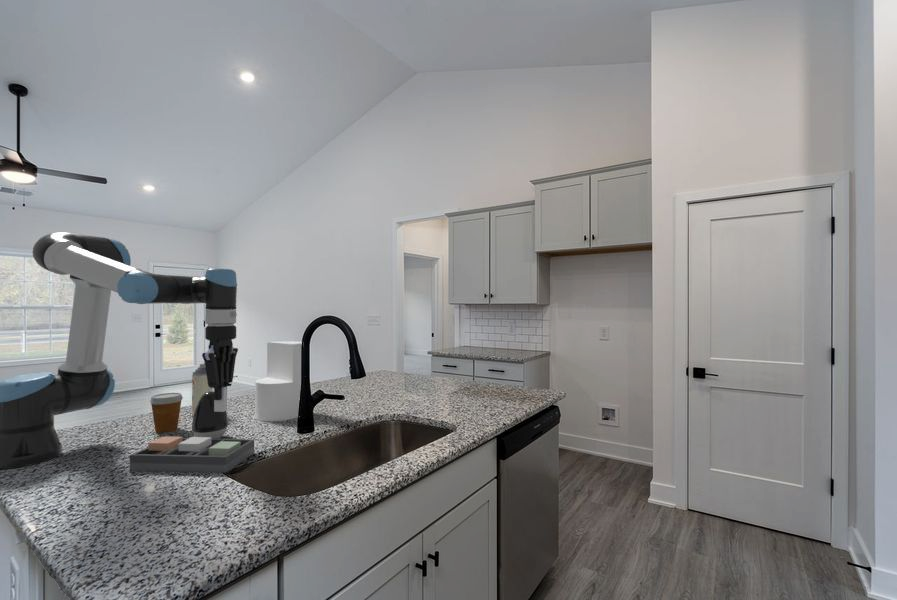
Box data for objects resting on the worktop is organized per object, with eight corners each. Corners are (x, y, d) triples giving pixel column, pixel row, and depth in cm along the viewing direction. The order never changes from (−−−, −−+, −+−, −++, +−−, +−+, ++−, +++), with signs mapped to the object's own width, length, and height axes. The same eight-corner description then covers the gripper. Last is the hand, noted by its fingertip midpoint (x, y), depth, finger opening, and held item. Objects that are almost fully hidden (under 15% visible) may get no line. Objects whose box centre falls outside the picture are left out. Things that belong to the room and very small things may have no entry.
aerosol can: (196, 413, 167) (196, 363, 167) (215, 412, 168) (215, 362, 168) (189, 418, 160) (189, 365, 160) (208, 417, 161) (208, 365, 161)
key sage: (208, 455, 113) (208, 448, 113) (221, 448, 118) (221, 441, 119) (228, 456, 113) (228, 448, 113) (240, 448, 118) (240, 441, 118)
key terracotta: (148, 450, 114) (148, 443, 114) (163, 443, 120) (163, 436, 120) (168, 450, 114) (168, 443, 114) (182, 443, 119) (182, 436, 119)
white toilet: (286, 407, 176) (286, 340, 176) (312, 413, 166) (312, 342, 166) (246, 416, 162) (246, 343, 162) (271, 424, 152) (271, 346, 152)
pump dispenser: (212, 445, 130) (212, 395, 130) (183, 442, 132) (184, 394, 132) (235, 434, 139) (235, 388, 140) (208, 433, 142) (208, 387, 142)
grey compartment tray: (129, 470, 110) (129, 455, 110) (168, 451, 124) (168, 437, 124) (225, 472, 108) (225, 457, 108) (254, 453, 122) (254, 439, 122)
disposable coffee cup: (143, 432, 142) (143, 397, 142) (170, 425, 151) (170, 391, 151) (161, 435, 139) (162, 399, 139) (189, 427, 148) (189, 393, 148)
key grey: (178, 451, 113) (178, 443, 113) (192, 444, 119) (192, 436, 119) (198, 451, 113) (198, 443, 113) (211, 444, 119) (211, 437, 119)
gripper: (219, 326, 109) (219, 417, 109) (247, 323, 122) (246, 405, 122) (192, 326, 110) (191, 417, 109) (222, 323, 123) (221, 404, 122)
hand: (220, 410), depth 116 cm, fingers closed
